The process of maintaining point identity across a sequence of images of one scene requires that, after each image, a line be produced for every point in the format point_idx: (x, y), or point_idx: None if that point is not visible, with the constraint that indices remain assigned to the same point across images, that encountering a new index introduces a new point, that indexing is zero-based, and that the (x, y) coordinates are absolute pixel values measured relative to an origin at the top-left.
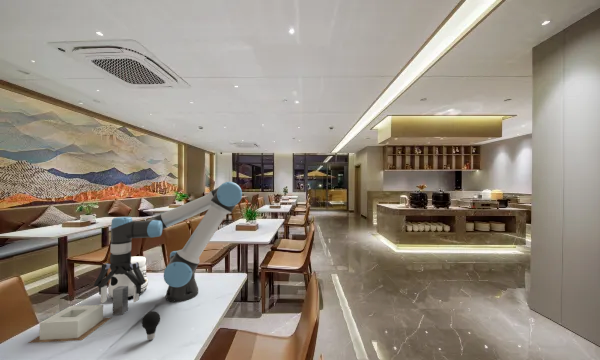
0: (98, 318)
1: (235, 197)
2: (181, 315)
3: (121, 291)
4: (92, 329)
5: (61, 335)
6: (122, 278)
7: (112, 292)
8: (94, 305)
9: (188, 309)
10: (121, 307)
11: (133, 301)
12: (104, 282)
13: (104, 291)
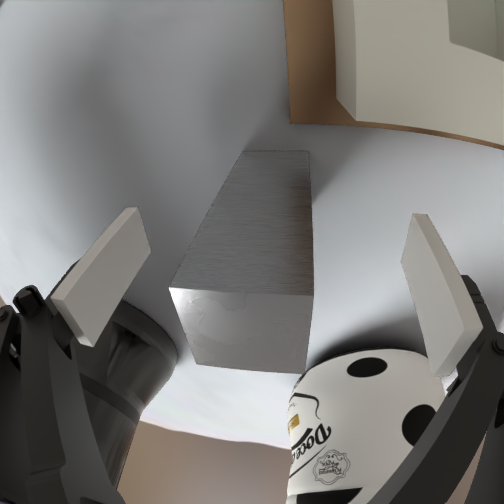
0: (339, 50)
1: None
2: (2, 180)
3: (193, 269)
4: None
5: None
6: (377, 445)
7: (418, 371)
8: (440, 123)
9: (15, 224)
10: (233, 177)
11: (134, 210)
12: (464, 401)
13: (436, 307)
